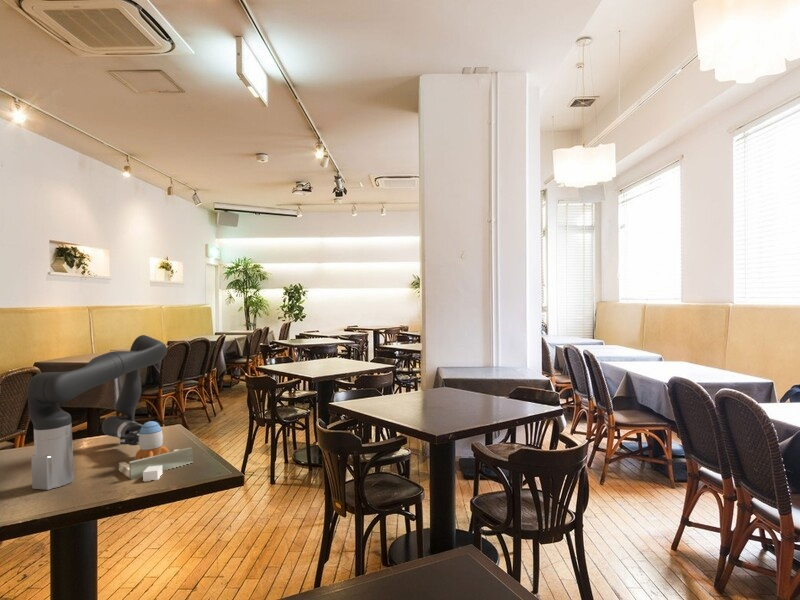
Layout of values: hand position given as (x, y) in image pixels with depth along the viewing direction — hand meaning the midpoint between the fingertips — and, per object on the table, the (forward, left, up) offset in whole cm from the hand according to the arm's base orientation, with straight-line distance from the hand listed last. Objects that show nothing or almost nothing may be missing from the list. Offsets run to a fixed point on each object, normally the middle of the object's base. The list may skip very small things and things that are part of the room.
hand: (148, 440), depth 161 cm
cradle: (-4, -6, -7) cm, 10 cm away
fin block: (-13, -13, -7) cm, 19 cm away
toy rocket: (-2, -2, -7) cm, 8 cm away
